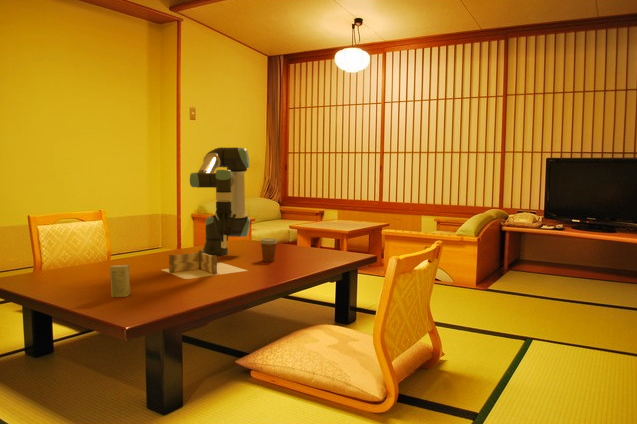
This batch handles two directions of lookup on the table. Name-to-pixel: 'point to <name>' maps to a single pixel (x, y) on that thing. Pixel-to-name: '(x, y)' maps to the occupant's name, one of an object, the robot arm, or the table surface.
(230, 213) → the robot arm
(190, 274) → the card
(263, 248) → the disposable coffee cup
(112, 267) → the skincare box
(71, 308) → the table surface
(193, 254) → the fence fixed
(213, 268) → the fence flap
